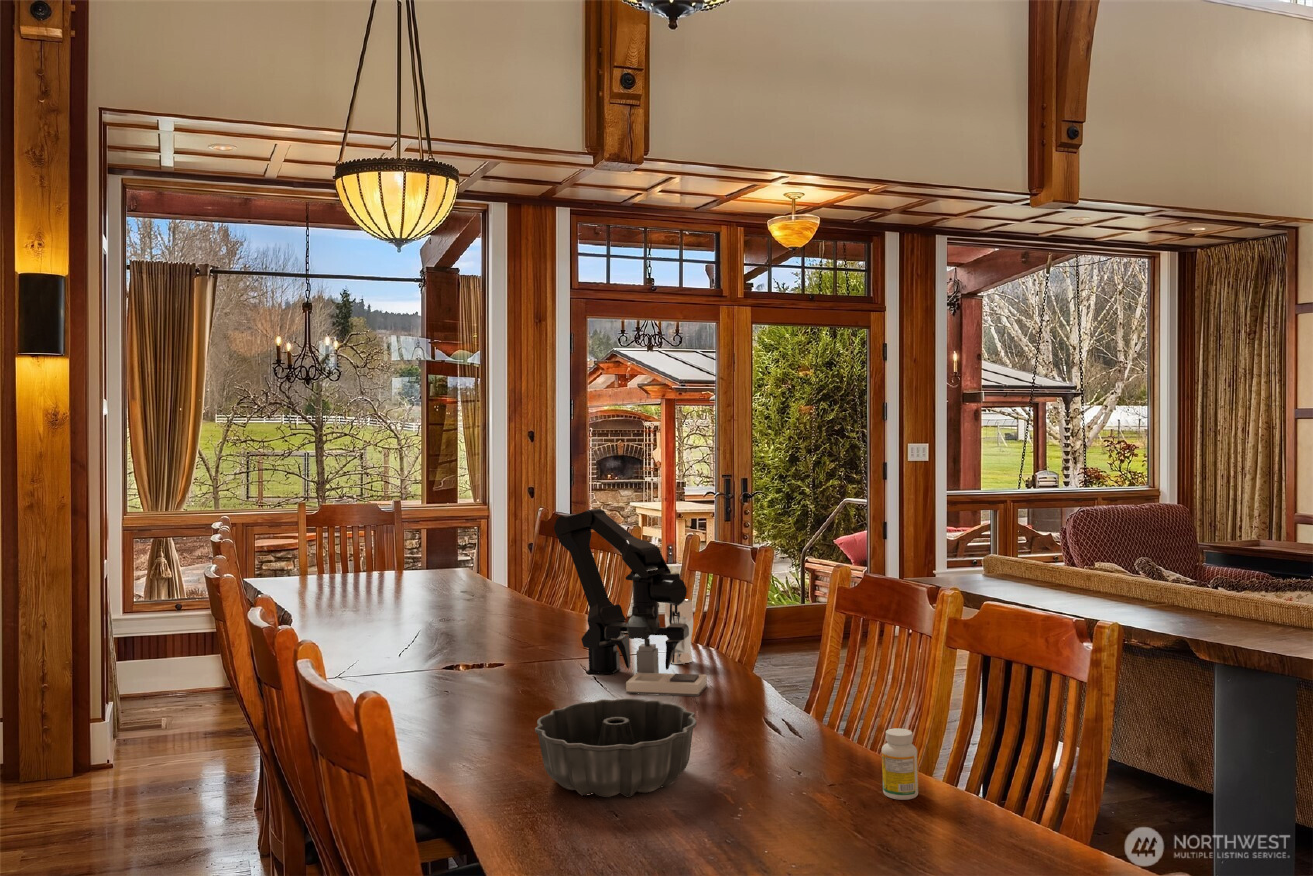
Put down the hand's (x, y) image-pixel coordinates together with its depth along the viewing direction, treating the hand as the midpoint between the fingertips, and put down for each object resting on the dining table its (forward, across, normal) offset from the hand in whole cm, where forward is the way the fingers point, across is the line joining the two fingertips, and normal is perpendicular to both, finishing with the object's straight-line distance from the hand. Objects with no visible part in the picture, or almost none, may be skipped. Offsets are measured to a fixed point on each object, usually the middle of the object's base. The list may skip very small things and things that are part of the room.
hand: (647, 668), depth 236 cm
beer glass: (+3, +3, +19) cm, 19 cm away
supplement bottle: (+3, +58, -65) cm, 87 cm away
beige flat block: (+3, +6, -8) cm, 11 cm away
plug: (+3, 0, 0) cm, 3 cm away
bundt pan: (+3, +13, -66) cm, 67 cm away
